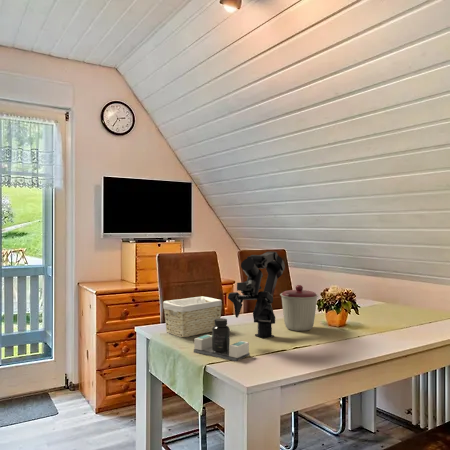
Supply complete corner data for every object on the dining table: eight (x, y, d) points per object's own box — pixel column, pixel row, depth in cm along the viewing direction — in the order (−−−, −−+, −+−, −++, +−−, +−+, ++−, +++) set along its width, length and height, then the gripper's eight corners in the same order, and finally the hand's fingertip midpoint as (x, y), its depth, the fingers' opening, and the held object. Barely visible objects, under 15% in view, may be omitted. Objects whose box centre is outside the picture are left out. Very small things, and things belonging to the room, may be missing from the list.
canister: (321, 326, 212) (322, 283, 212) (313, 335, 196) (313, 288, 196) (286, 323, 220) (286, 281, 220) (275, 330, 203) (275, 286, 203)
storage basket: (180, 339, 187) (181, 305, 187) (161, 332, 200) (161, 300, 200) (223, 331, 203) (223, 299, 203) (202, 325, 215) (203, 295, 215)
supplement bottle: (213, 347, 170) (213, 317, 170) (230, 348, 169) (230, 317, 169) (210, 352, 163) (211, 321, 163) (229, 353, 162) (229, 321, 162)
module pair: (194, 348, 168) (194, 338, 168) (206, 344, 175) (207, 334, 175) (237, 357, 157) (237, 346, 157) (248, 352, 163) (248, 341, 163)
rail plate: (193, 352, 168) (193, 349, 168) (207, 346, 175) (207, 344, 175) (236, 361, 156) (236, 358, 156) (249, 355, 164) (249, 352, 164)
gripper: (225, 274, 180) (216, 309, 172) (263, 271, 169) (256, 308, 162) (238, 286, 187) (230, 320, 179) (276, 284, 177) (270, 320, 169)
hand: (246, 317), depth 172 cm, fingers open, 9 cm apart
